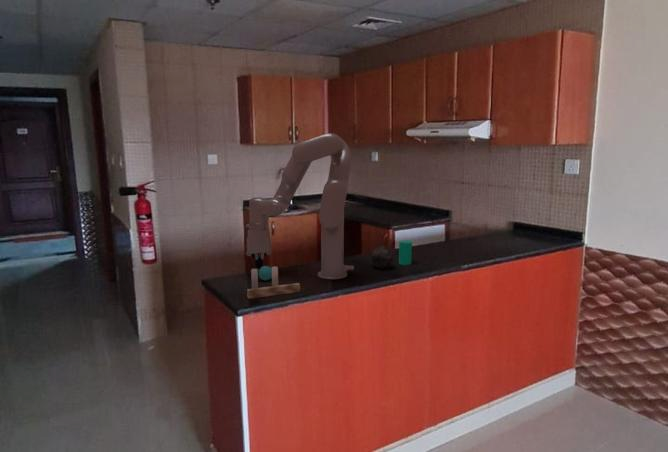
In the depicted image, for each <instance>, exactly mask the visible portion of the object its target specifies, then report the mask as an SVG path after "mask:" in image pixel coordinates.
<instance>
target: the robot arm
mask: <svg viewBox="0 0 668 452" xmlns="http://www.w3.org/2000/svg"><path fill="white" fill-rule="evenodd" d="M326 157H330V165H329V170H328V171H329V172H328V177H327V181H326V182H325V184H324V186H323V191H322V195H321V200H320V201H321V202H320V205H319V206H320V208H319V213H318V221H319V222H320V224H321V227H320V228H321V229H320V235H321V237H320V238H321V240H320V246H321V248H320V249H321V250H320V254H321V255H320V256H321V257H320V260H321V265H320V267H321V270H320V271H318V272H317V277H318V278H321V279H324V280H342V279H344V278H346V277H347V276H348V271H354V269H355V266H354V265H348V264H346V265H345V263H344V262H345V260H344V258H345V257H344V245H345V244H344V241H345V239H344V236H345V235H344V231H345V230H344V229H345V212H344V211H345V205H346V199H347V195H348V191H349V180H350V173H351V166H352V152H351V149H350V147H349V145H348V143H347V142H346V141H345V140H344V139H343V138H342V137H340V136H339V135H338V134H336V133H331V132H328V133H325V134H321V135H318V136H316V137H313V138H309V139H307V140H304V141H300V142H298V143H296V144H295V145H294V146H293V148H292V150H291V156H290V158H289V160H288V162H287V163H286V166H285V167H284V169H283V171H282V172H281V180H280V184H279V186H278V188H277V190H276V192H275V194H274V196H273V197H272V198H267V199H266V198H265V197H258V196H257V197H256V196H254V197H251V198H249V201H248V202H249V205H248V209H249V210H248V213H249V215H248V216H249V222H248V223H246V225H245V227H246V229H247V228H248V229H247V235H246V246H245V247H246V253H245V255H246V256H247V257H252V258H253V259H254V267H256V268H255V269H258V270H260V268H261V267H263V266H264V265H263V264H264V263H263V260H264V259H265V257H266V256H269V255H271V254H272V238H271V232H270V229H269V228H268V216H269V217H279V216H281V214H283V213H284V212H285V211H286V210H287V208H289V205H290V204H291V201H292V200H293V198H294V196H295V195H296V192H297V190H298V189H299V187H300V185H301V183H302V181H303V179H304V178H305V175H306V173H307V171H308V169H309V168H310V166H311V164H312V162H314V161H316V160H320V159H323V158H326ZM258 254H259V255H258Z"/></svg>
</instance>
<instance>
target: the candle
mask: <svg viewBox="0 0 668 452" xmlns="http://www.w3.org/2000/svg"><path fill="white" fill-rule="evenodd" d="M404 239H405V240H402V241H401V240H400V241H399V242H398V264H399V265H403V266H409V265H412V257H413V256H412V254H413V253H412V252H413V251H412V248H413V241H412V240H409V239H408V240H407V239H406V238H404Z"/></svg>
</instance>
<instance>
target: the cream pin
mask: <svg viewBox="0 0 668 452" xmlns="http://www.w3.org/2000/svg"><path fill="white" fill-rule="evenodd" d="M271 269H272V278H271V286H278V285H279V267H278V266H271Z"/></svg>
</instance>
